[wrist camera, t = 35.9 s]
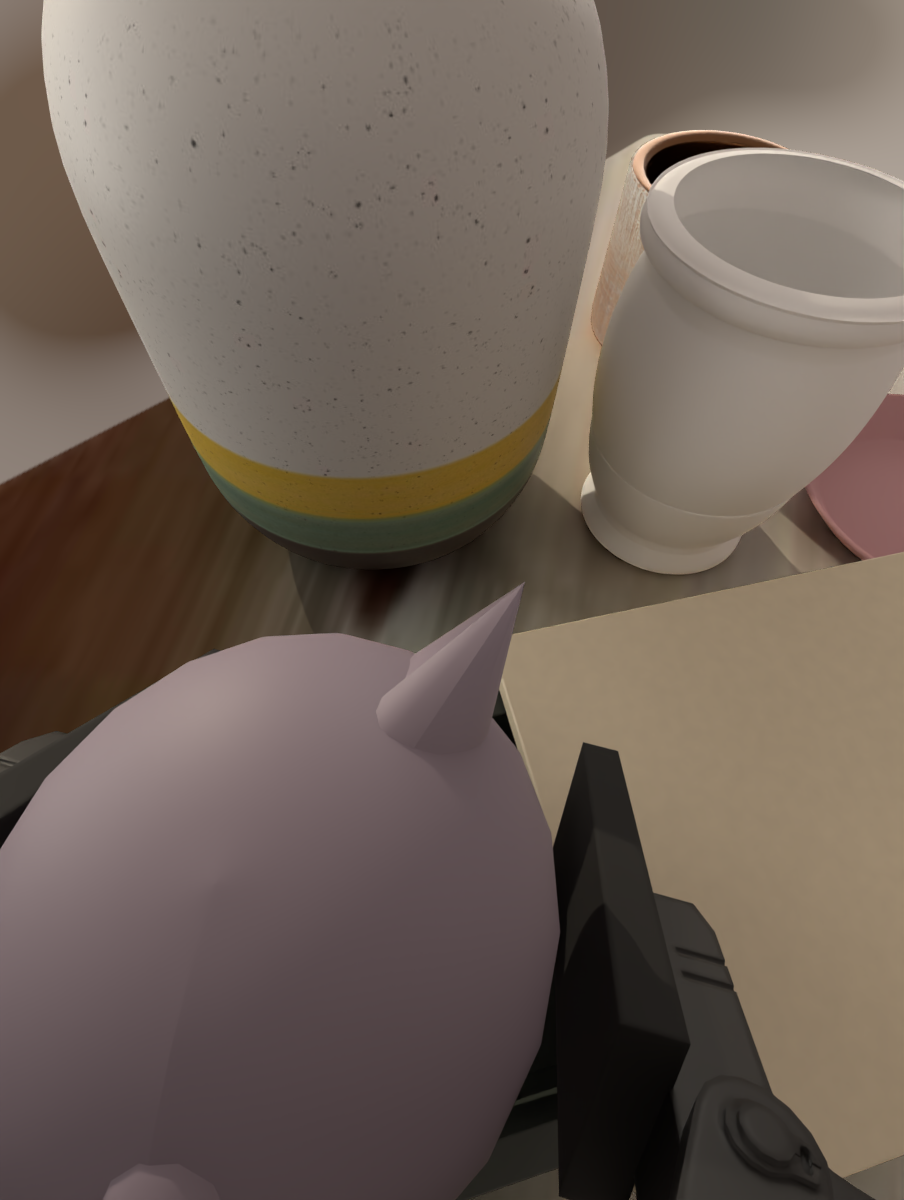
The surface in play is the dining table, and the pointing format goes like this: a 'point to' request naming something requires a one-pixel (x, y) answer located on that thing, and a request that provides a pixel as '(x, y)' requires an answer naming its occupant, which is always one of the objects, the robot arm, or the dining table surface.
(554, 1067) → the drawer
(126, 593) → the dining table surface
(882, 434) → the plate
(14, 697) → the dining table surface
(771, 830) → the cabinet
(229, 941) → the cat figurine
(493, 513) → the vase
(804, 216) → the jar
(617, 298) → the planter
